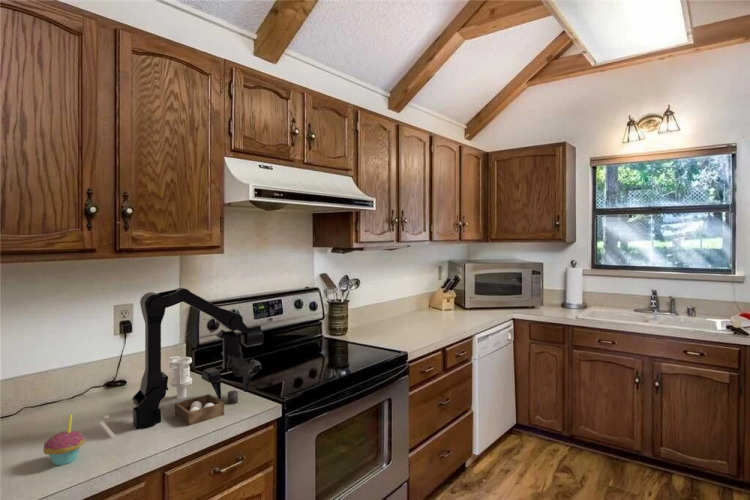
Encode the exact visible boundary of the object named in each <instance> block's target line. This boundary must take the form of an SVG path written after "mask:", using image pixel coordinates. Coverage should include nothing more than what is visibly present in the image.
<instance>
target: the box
mask: <svg viewBox="0 0 750 500" xmlns="http://www.w3.org/2000/svg"><path fill="white" fill-rule="evenodd" d="M195 401H199V402H201V403H202V406H203V407H202V409H198V410H195V411H192V412H190V411H189V410H190V406H191V404H192V403H193V402H195ZM207 403H213V404H214V405H212V406H209V407H205V408H204V406H205V405H206V404H207ZM174 416H175V417H176V418H177V419H179V420H180V421H182V422H183V423H185V424H186V425H187V426H188V427H190V426H194V425H196V424H199V423H203V422H206V421H209V420H212V419H215V418H218V417H222V416H225V403H224V401H222V400H221V399H218V398H217V397H215V396H213V395H211V394H209V393H207V394H204V395H200V396H196V397H193V398H188V399H185V400H181V401H178V402H175V403H174Z"/></svg>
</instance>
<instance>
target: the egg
mask: <svg viewBox="0 0 750 500" xmlns="http://www.w3.org/2000/svg"><path fill="white" fill-rule="evenodd" d="M193 407H198V408H199V409H202V407H203V406H202V403H201V402H199V401H195V402H193V403H192V404H191V406H190V409H191V408H193Z"/></svg>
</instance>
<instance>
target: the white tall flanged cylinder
mask: <svg viewBox="0 0 750 500" xmlns="http://www.w3.org/2000/svg"><path fill="white" fill-rule="evenodd" d="M192 359H193V358H192V357H190V356H178V355H176V356H170V357H169V368H170V369H171V368H172V370H171V371H172V372H171V377H172V378H171V380H170V381H169V385H170V387H173V388H176V398H177V399H180V400H181V399H184V398H186V397H187V386H188V385H191V384H192V383H193V378H192V377H191V371H190V370H191V368H190V364H192V362H193V360H192Z"/></svg>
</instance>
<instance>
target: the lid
mask: <svg viewBox="0 0 750 500" xmlns="http://www.w3.org/2000/svg"><path fill="white" fill-rule="evenodd" d="M238 394H239V392H238V390H230V391H228V392H227V404H228V405H235V404H238V402H239V399H238V398H239V397H238V396H239V395H238Z"/></svg>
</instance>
